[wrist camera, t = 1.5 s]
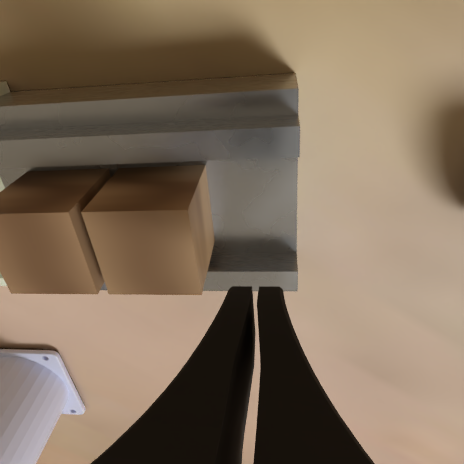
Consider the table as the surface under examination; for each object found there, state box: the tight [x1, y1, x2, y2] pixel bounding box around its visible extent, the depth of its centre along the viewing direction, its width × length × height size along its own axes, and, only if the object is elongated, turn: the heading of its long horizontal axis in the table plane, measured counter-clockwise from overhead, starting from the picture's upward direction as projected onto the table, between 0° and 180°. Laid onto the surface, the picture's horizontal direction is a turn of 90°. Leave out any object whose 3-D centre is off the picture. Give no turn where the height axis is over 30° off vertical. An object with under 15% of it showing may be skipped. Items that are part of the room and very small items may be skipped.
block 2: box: [81, 165, 215, 295], centre depth 17 cm, size 4×4×4 cm
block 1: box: [0, 168, 111, 294], centre depth 17 cm, size 4×4×4 cm
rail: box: [0, 73, 300, 291], centre depth 19 cm, size 14×10×4 cm
